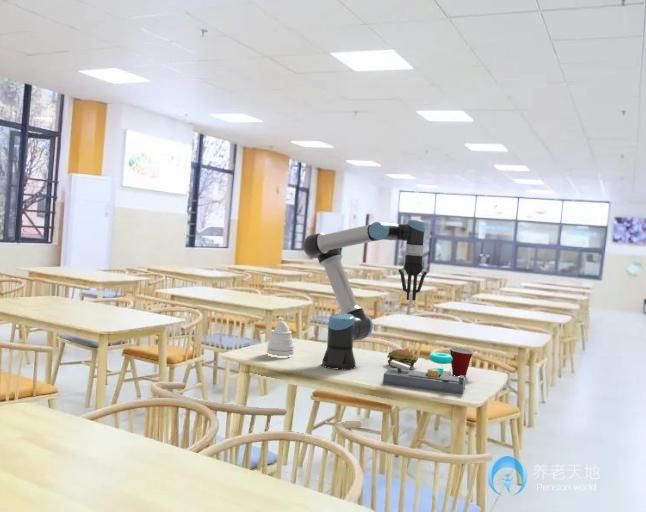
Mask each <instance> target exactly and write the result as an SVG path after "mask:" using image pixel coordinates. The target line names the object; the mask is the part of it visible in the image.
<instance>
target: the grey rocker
mask: <svg viewBox="0 0 646 512" xmlns="http://www.w3.org/2000/svg"><path fill="white" fill-rule="evenodd" d="M390 365H392V366H395V367H398V368H401V369H404V370H407V371H409V370H410V369H411V368H410V366H409V365H406V364H403V363H400V362H398V361H395V360H392V361H391V363H390ZM398 368H397V369H398Z"/></svg>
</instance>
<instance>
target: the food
mask: <svg viewBox="0 0 646 512" xmlns="http://www.w3.org/2000/svg"><path fill="white" fill-rule="evenodd" d="M386 358H387V359H388V360H387V363H388V365H389V367H390V368H394V367H395V366H392V365H390V363H391V361H392V360H395V361H398V362H400V363H403V364H406V365H409V366H410V369H413V368H414V365H415V363H417V361H418V359H419V357H418V356H414V354H413V353H412V352H411V351H410V350H408V349H402V348H398V349H397V348H396V349H393V350H391V352H388V355H387V356H386ZM395 368H397V369H398V367H395Z"/></svg>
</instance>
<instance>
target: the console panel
mask: <svg viewBox="0 0 646 512" xmlns="http://www.w3.org/2000/svg"><path fill="white" fill-rule="evenodd" d="M427 373H428V371H427V372H426V371H418V370H413V369H412V370H410V369H409V371H407V370H404V369H401V368H394V367H389V368H388V369H387V370H386V371H385V372H384V373H383V378H382V384H384V385H385V384H386V385H391V384H392V385H393V386H399V387H405V388H412V389H413V388H415V389H422V390H427V391H428V390H430V391H436V392H441V393H450V394H457V395H463V394H464V391H465V388H466V382H467V377H466V376H465V377H464V376H463V375H460V377H458V376H454V375H452V374H451V375H450V378H449V380H442V378H443V374H439V377H432V376H427Z"/></svg>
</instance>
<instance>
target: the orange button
mask: <svg viewBox="0 0 646 512" xmlns="http://www.w3.org/2000/svg"><path fill="white" fill-rule="evenodd" d="M427 372H428V373H427V376H432V377H439V370H437V369H432V368H427Z"/></svg>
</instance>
